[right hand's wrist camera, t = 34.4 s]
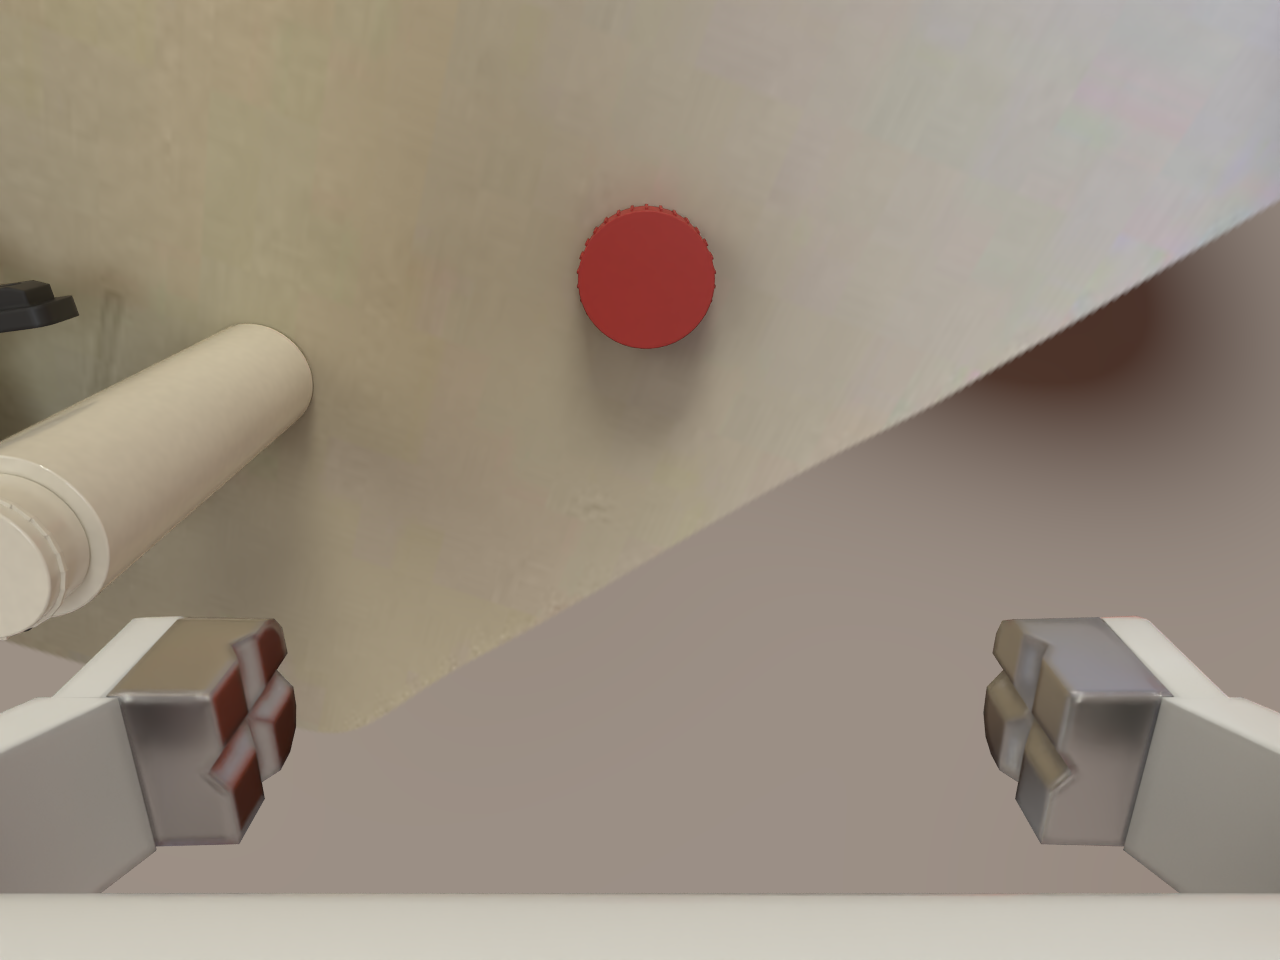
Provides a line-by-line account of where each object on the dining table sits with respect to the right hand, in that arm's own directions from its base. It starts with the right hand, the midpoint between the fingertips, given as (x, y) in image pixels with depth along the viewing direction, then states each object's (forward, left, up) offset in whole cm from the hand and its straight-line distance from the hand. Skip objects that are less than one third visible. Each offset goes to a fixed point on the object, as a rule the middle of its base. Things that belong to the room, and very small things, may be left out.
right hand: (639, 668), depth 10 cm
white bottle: (-13, -11, -29) cm, 33 cm away
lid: (0, 0, -27) cm, 27 cm away
